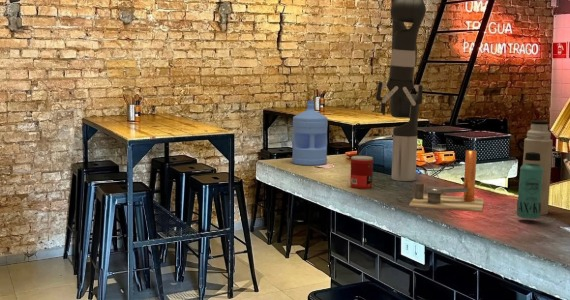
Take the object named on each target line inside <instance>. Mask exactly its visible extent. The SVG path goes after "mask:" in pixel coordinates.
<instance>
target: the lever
mask: <svg viewBox="0 0 570 300" xmlns="http://www.w3.org/2000/svg"><path fill="white" fill-rule="evenodd" d="M477 153H478V152H477V150H472V149H471V150H469V149H468V150H465V157H464V158H465V159H464V160H465V161H464V176H463V178H464V179H463V186H451V187H448V186H447V187H445V186H444V187H443V186H442V187H441V186H426V187H425V186H424V193H427V194H428V193H431V194H441V195H442V194H445V193H463V196H462V197H463V200H465V201H474V198H475V194H476V193H475V192H476V191H475V190H476V170H477Z"/></svg>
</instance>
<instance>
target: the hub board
mask: <svg viewBox="0 0 570 300" xmlns="http://www.w3.org/2000/svg"><path fill="white" fill-rule="evenodd" d="M484 203H485V198H479V197H474V201H465V200H463V196H451V195H442V194H431V193H427V194H425V184H424V183H421V182H417V183H415V182H414V197H413V198H412V200H411V201H410V202H409V205H408V206H409V207H416V208H431V209H442V210H443V209H444V210H453V211H467V212H479V213H480V212H481V213H482V212H483V208H484Z"/></svg>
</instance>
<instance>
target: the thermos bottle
mask: <svg viewBox="0 0 570 300" xmlns="http://www.w3.org/2000/svg"><path fill="white" fill-rule="evenodd" d="M551 136H552V132H551V131H549V121H546V120H531V121H530V129H529V130H527V133H526V138H524V139H523V141H524V142H523V157H522V165H524V164H539V165H540V166H541V167H542V168H543V169H544V170H543V181H542V185H543V186H542V197H541V202H542V204H541V209H540V216H543V215H547V214H548V213H549V201H550V189H551V188H550V185H551V172H552V170H551V169H552V156H553V139H551ZM527 152H535V153H540V161H529V160H525V155H526V153H527Z"/></svg>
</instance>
